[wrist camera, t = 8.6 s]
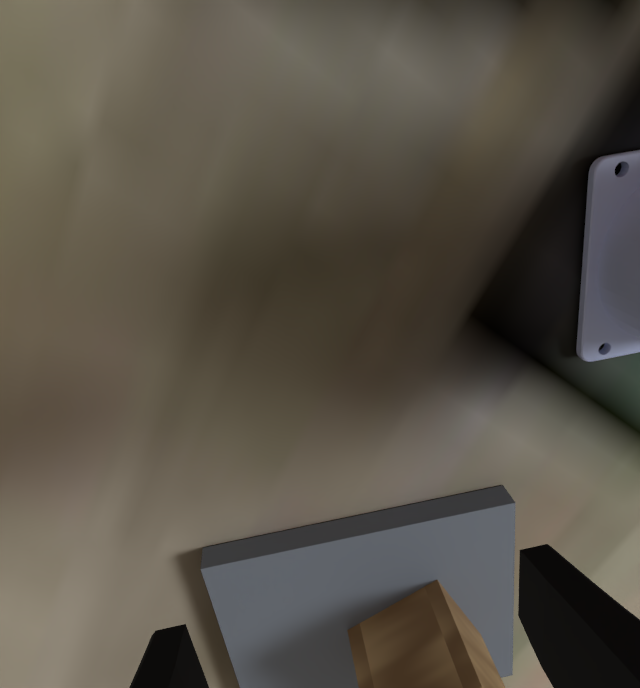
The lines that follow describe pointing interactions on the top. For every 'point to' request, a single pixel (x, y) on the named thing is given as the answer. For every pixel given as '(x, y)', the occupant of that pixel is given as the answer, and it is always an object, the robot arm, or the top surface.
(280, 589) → the flat gray board
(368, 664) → the wooden cubby box
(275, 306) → the top surface
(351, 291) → the top surface
